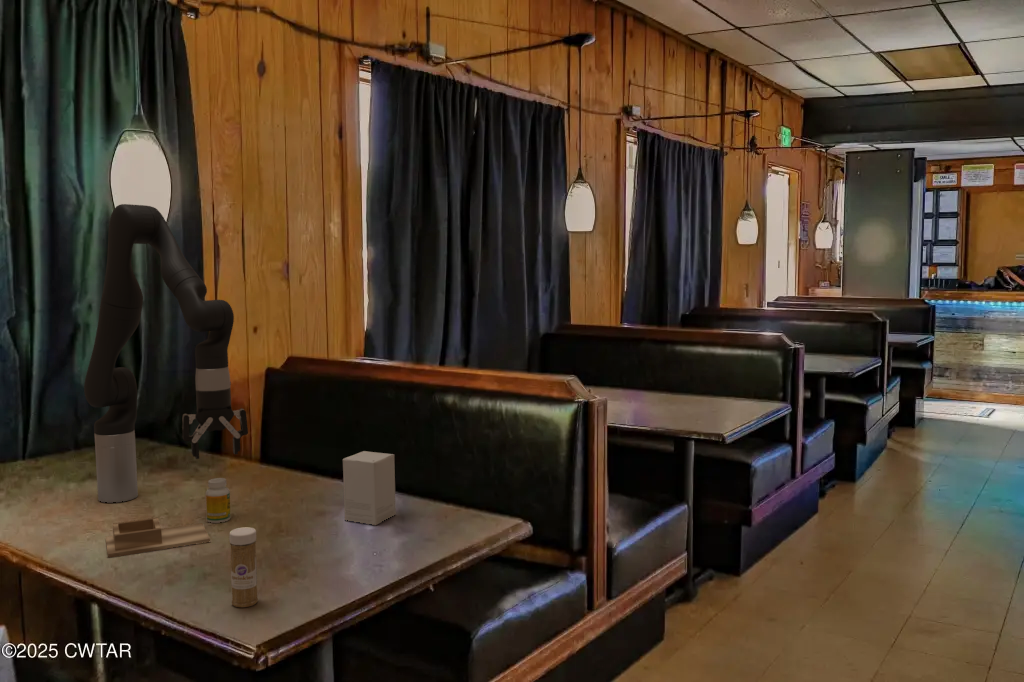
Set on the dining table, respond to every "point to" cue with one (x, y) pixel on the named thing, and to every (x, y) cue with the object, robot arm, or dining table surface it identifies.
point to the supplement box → (369, 487)
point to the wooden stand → (151, 537)
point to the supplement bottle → (217, 501)
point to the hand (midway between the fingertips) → (216, 455)
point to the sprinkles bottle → (243, 566)
